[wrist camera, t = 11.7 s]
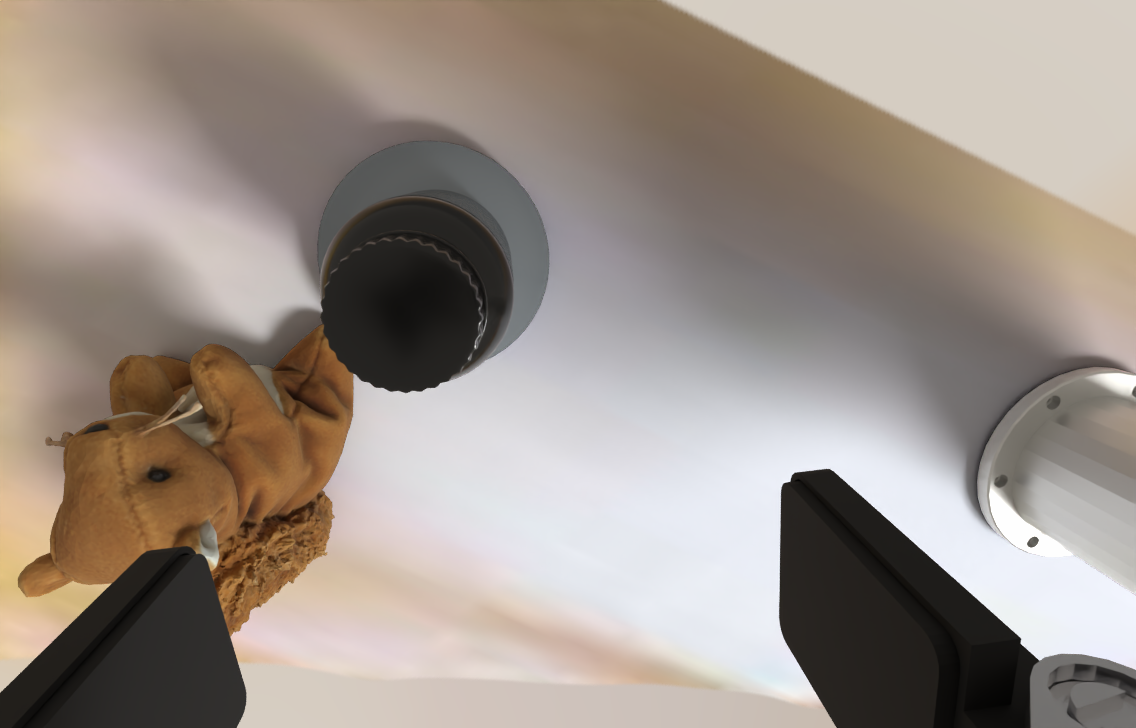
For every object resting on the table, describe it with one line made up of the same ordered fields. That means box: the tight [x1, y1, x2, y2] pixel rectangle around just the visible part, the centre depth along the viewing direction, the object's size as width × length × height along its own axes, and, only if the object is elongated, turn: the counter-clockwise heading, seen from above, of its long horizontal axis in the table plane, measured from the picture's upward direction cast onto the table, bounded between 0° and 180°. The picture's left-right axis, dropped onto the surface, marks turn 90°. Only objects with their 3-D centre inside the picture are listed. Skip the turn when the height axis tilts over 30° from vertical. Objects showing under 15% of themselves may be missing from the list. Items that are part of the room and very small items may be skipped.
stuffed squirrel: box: [18, 324, 353, 636], centre depth 26 cm, size 10×14×13 cm
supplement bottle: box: [320, 190, 514, 393], centre depth 24 cm, size 7×7×12 cm
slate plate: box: [317, 141, 549, 360], centre depth 30 cm, size 11×11×2 cm
